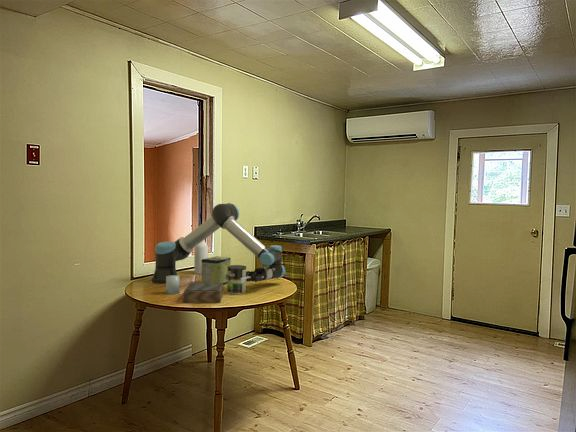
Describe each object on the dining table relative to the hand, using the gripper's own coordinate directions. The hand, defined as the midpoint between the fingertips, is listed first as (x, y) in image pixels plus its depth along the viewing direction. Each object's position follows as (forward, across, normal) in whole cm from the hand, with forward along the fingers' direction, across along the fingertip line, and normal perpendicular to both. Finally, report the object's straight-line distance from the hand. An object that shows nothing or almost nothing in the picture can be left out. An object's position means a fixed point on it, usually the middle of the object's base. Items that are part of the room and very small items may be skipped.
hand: (233, 278), depth 231 cm
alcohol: (-18, +58, -8) cm, 61 cm away
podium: (+19, 0, -8) cm, 20 cm away
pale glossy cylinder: (+25, +20, -8) cm, 33 cm away
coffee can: (-3, 0, -8) cm, 9 cm away
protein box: (-6, +24, -8) cm, 26 cm away
